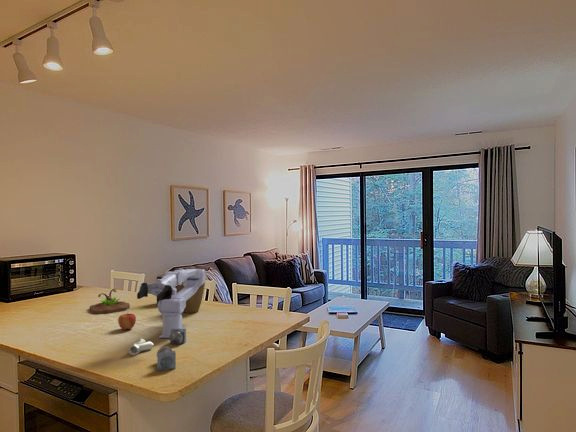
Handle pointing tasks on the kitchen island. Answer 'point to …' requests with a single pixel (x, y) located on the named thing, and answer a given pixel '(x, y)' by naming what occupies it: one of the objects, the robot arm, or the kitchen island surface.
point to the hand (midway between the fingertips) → (147, 297)
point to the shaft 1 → (166, 359)
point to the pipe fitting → (140, 346)
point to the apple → (127, 321)
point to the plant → (109, 305)
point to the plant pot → (193, 299)
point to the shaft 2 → (178, 336)
